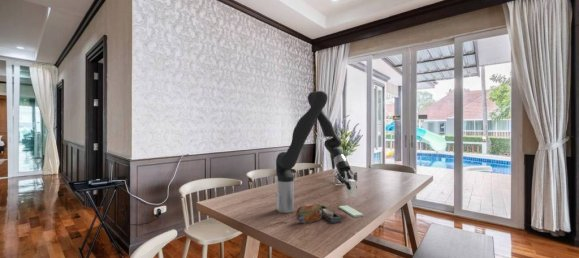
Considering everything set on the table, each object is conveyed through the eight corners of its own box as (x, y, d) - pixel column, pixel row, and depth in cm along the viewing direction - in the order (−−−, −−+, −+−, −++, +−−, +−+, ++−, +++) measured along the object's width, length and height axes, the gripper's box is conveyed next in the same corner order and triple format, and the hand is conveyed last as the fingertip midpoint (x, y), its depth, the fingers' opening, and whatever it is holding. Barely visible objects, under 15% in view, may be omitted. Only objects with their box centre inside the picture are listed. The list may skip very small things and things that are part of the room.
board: (354, 217, 130) (354, 215, 130) (339, 207, 146) (339, 206, 146) (363, 216, 132) (363, 214, 132) (347, 207, 147) (347, 205, 147)
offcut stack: (328, 219, 127) (328, 214, 127) (321, 213, 137) (321, 208, 137) (333, 219, 128) (333, 213, 128) (326, 213, 137) (326, 207, 137)
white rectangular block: (351, 196, 135) (351, 181, 135) (345, 193, 141) (345, 178, 141) (356, 196, 136) (356, 180, 136) (350, 193, 142) (350, 178, 142)
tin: (298, 224, 120) (298, 207, 120) (295, 222, 123) (295, 205, 123) (323, 219, 127) (323, 203, 127) (320, 217, 129) (320, 201, 129)
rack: (331, 223, 122) (331, 218, 122) (315, 210, 141) (315, 206, 141) (341, 222, 124) (341, 217, 124) (323, 209, 142) (324, 205, 142)
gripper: (333, 160, 144) (344, 186, 132) (354, 159, 148) (366, 184, 136) (329, 168, 149) (339, 193, 137) (349, 167, 153) (360, 191, 141)
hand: (352, 188), depth 137 cm, fingers closed on white rectangular block, 3 cm apart
